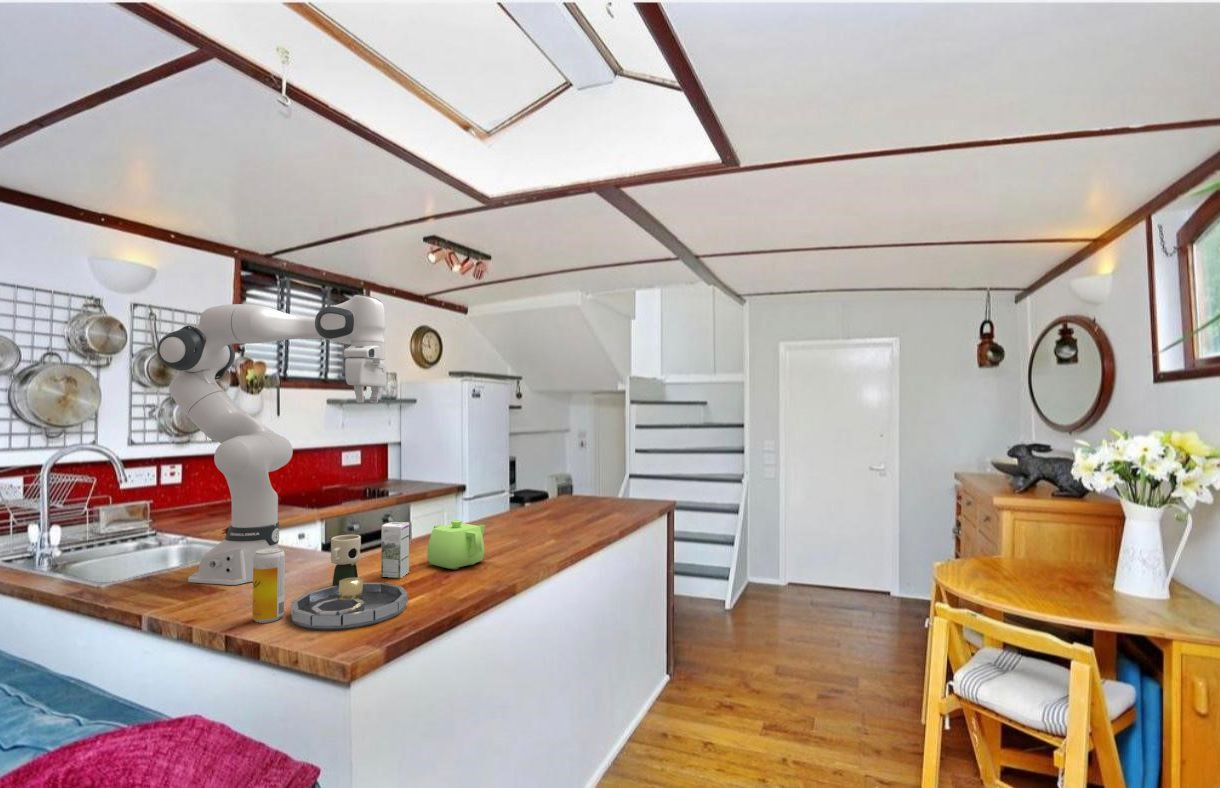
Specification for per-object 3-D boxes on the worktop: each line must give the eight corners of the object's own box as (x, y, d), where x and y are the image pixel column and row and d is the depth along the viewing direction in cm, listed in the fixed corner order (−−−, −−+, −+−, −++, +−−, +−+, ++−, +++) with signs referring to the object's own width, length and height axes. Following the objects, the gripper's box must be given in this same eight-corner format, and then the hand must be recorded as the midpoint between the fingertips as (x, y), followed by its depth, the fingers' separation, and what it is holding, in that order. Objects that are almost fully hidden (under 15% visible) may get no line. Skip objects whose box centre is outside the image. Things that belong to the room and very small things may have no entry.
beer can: (260, 614, 135) (261, 547, 135) (288, 613, 136) (289, 547, 136) (246, 624, 129) (248, 553, 129) (276, 623, 130) (277, 553, 130)
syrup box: (409, 573, 169) (410, 521, 169) (400, 579, 163) (400, 525, 164) (390, 572, 170) (390, 521, 170) (380, 578, 164) (380, 525, 164)
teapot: (463, 552, 194) (463, 512, 194) (507, 562, 182) (507, 518, 182) (414, 564, 179) (415, 520, 179) (459, 575, 167) (459, 528, 168)
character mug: (346, 594, 150) (347, 542, 150) (320, 593, 150) (320, 541, 151) (369, 582, 160) (369, 533, 161) (343, 581, 161) (344, 532, 161)
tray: (268, 630, 125) (269, 596, 126) (322, 594, 149) (323, 566, 150) (383, 630, 126) (384, 596, 126) (419, 594, 150) (419, 566, 150)
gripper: (371, 356, 178) (370, 403, 178) (340, 349, 158) (340, 402, 157) (392, 356, 178) (391, 403, 178) (364, 349, 158) (364, 402, 157)
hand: (367, 402), depth 168 cm, fingers open, 8 cm apart
